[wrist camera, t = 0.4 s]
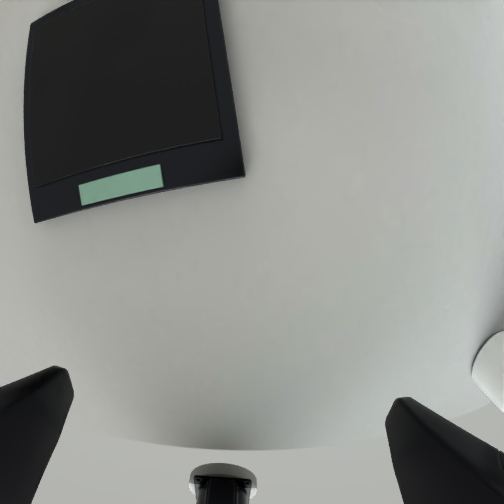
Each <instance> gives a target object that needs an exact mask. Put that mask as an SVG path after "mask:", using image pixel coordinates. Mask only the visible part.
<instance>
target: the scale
mask: <svg viewBox="0 0 504 504" xmlns="http://www.w3.org/2000/svg"><path fill="white" fill-rule="evenodd" d="M24 142H25V157H26V168H27V177H28V186H29V193H30V200H31V206H32V212H33V218H34V223H38V222H42V221H46V220H49V219H53V218H56V217H60V216H63V215H67V214H71V213H74V212H78V211H82V210H86V209H90V208H94V207H98V206H102V205H106V204H110V203H114V202H119V201H123V200H127V199H132V198H136V197H141V196H146V195H150V194H155V193H160V192H165V191H170V190H175V189H180V188H186V187H191V186H196V185H202V184H208V183H214V182H219V181H226V180H232V179H238V178H244V177H245V176H246V175H245V168H244V162H243V155H242V149H241V142H240V136H239V129H238V123H237V116H236V110H235V104H234V97H233V91H232V84H231V78H230V72H229V65H228V59H227V53H226V46H225V40H224V34H223V28H222V21H221V15H220V9H219V3H218V0H73V1H71V2H69V3H67V4H65V5H63V6H61V7H59V8H57V9H55V10H54V11H52V12H50V13H48V14H46V15H45V16H43V17H41V18H39V19H38V20H36V21H34V22H33V23H31V25H30V31H29V38H28V46H27V55H26V65H25V80H24Z"/></svg>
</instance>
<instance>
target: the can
mask: <svg viewBox="0 0 504 504" xmlns="http://www.w3.org/2000/svg"><path fill="white" fill-rule="evenodd" d="M472 378H473V380H474V382H475V383H476V384H477V385H478V386H479V387H480V388H481V389H482V390H483V391H484V392H485V394H486V395H487V396H488V397H489V398H490V399H491V400H492V401H493V402H494V403H495V404H496V405H497V406H498V408H499V409H500V410H501V411H502V412H503V413H504V331H501V332H498V333H496V334H494V335H493V336H491V337H490V338H489V339H488V340H487V341H486V342H485V343H484V345H483V346H482V347H481V349H480V350H479V352H478V354H477V355H476V357H475V360H474V363H473V367H472Z"/></svg>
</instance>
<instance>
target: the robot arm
mask: <svg viewBox="0 0 504 504" xmlns="http://www.w3.org/2000/svg"><path fill="white" fill-rule="evenodd" d="M73 397H74V391H73V387H72V383H71V380H70V376H69V373H68V371H67V370H66V369H65V368H62V367H59V366H51V367H49V368H47V369H44V370H42V371H39V372H37V373H35V374H32V375H30V376H27V377H25V378H22V379H20V380H17V381H15V382H12V383H10V384H7V385H5V386H2V387H0V504H31V503H32V500H33V497H34V495H35V493H36V490H37V488H38V485H39V483H40V480H41V478H42V476H43V473H44V471H45V469H46V467H47V464H48V462H49V460H50V457H51V455H52V453H53V451H54V449H55V446H56V444H57V442H58V440H59V437H60V435H61V432H62V429H63V426H64V423H65V420H66V417H67V414H68V412H69V409H70V406H71V404H72V401H73ZM385 427H386V432H387V437H388V442H389V447H390V452H391V458H392V463H393V467H394V471H395V475H396V478H397V481H398V485H399V488H400V491H401V495H402V498H403V502H404V504H504V453H503V452H502V451H499V450H498V449H496V448H495V447H493V446H491V445H489V444H487V443H486V442H484V441H482V440H480V439H479V438H477V437H475V436H474V435H472V434H470V433H469V432H467V431H465V430H463V429H462V428H460V427H458V426H456V425H455V424H453V423H452V422H450V421H448V420H447V419H445V418H443V417H442V416H440V415H438V414H437V413H435V412H433V411H432V410H430V409H429V408H427V407H425V406H424V405H422V404H420V403H419V402H417V401H416V400H414V399H412V398H411V397H402V398H397V399H396V400H395V401H394V403H393V405H392V407H391V409H390V411H389V413H388V415H387V417H386V421H385ZM251 485H252V480H251V479H244V478H226V477H213V476H203V475H195V476H194V487H195V494H196V500H197V503H196V504H249V499H250V492H251Z"/></svg>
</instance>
